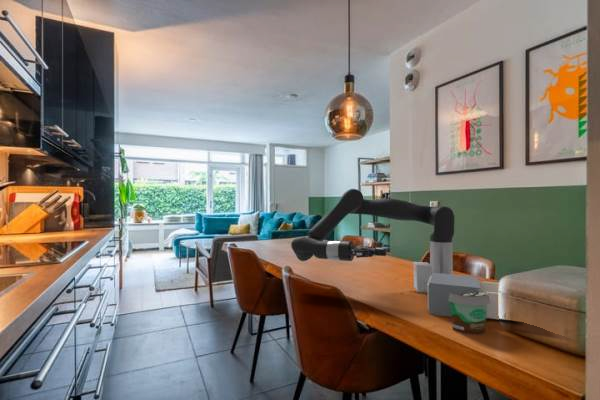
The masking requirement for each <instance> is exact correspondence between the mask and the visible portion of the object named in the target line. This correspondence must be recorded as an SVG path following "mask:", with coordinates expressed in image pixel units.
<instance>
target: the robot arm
mask: <svg viewBox="0 0 600 400" xmlns="http://www.w3.org/2000/svg"><path fill="white" fill-rule="evenodd" d="M349 214H352V215H367V216H374V217H377V218H378V217H379V218H386V219H389V220H396V221H405V222H407V221H408V222H409V221H415V222H420V223H424V224H428V225H432V226H433V227H434V228H433V232H432V234H430V235H429V251H430V252H429V255H430V257H429V264H430V265H431V266H432V273H441V274H453V275H454V272H453V268H454V265H453V263H454V262H453V238H454V235H455V222H456V221H455V214H454V211H453V210H452V208H450V207H448V206H443V205H442V206H438V205H437V206H426V205H425V206H424V205H420V204H418V205H417V204H414V203H412V202H409V201H407V200H403V199H396V198H391V197H389V198H377V199H365V198H364V195H363V194H362V191H360V190H359V189H356V188H350V189H348V190H346V191H345V192H344V193H343V194H342V196H341V197H340V199H339V201H338V202H337V203H336V205H334V206H333V208H332V209H331V210H330V211H328V212H327V213H326V214H325V215H324V216H323V217H322V218H321V219H319V220H318V221H317V222H316V224H314V225H313V226H312V227H311V228H310V229H309V230H308V232H307V236H298V237H296V238H294V239H293V240H292V241H291V244H290V245H291V249H292V251H293V253H294V255H295V256H296V258H297V259H298V260H299V261H301V262H306V261H308V260H310V259H311V258H313V256H314V257H315V258H316V259H320V260H332V261H341V262H342V261H344V262H352V261H353V260H354V258H355V257H356V258H357V259H360V258H372V257H376V256H377V257H378V256H379V257H380V256H381V257H386V256H387V253H388V252H387V249H384V248H376V247H374V246H368V245H365V246H364V245H356V246H355V243H354V242H353V241H352V240H325V239H326V238H327V237H328V236H329V235H330V234H331V233H332V232H333V231H334V230H335V228H336V227H337V226H338V225H339V223H340V222H341V221H342V220H344V219H345V218H346V217H347V216H348V215H349Z"/></svg>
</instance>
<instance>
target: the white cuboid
mask: <svg viewBox="0 0 600 400" xmlns="http://www.w3.org/2000/svg"><path fill="white" fill-rule="evenodd" d="M430 278H431V276H430ZM429 281H430V279H429ZM499 283H500V282H489V281H480V280H479V284H480V288H481V290H484V291H486V292H487V293H488V295H489V298H490V303H489V304H487V314H486V319H494V320H499V316H498V284H499ZM426 293H427V295H426V296H427V311H429V282H428V284H427V292H426Z"/></svg>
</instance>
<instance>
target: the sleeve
mask: <svg viewBox="0 0 600 400" xmlns="http://www.w3.org/2000/svg"><path fill="white" fill-rule="evenodd" d="M479 281H480V280H479V277H478V276H477V275H476V276H473V275H464V274H461V275H460V274H454V273H453V274H441V273H432V276H431V278H430V281H429V310H428V312H429V315H436V316H444V317H449V318H450V317H451V318H452V316H451V305H450V301H448V300H449V296H450V293H451V294H455V295H460V294H463V293H475V292H478V289H481V288H480V284H479Z"/></svg>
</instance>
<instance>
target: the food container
mask: <svg viewBox="0 0 600 400" xmlns="http://www.w3.org/2000/svg"><path fill="white" fill-rule="evenodd" d="M448 301H450V305H451V316H452V317H451V325H452V326H451V328H452V331H456V332H458V333H462V334H466V335H467V334H468V335H482V334H484V333H486V328H487V327H486V326H487V318H486V314H487V304H489V303H490V298H489V295H488V293H487V292H486V291H484V290H481V289H478V292H475V293H463V294H460V295H455V294H451V293H450V296H449V300H448Z"/></svg>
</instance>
